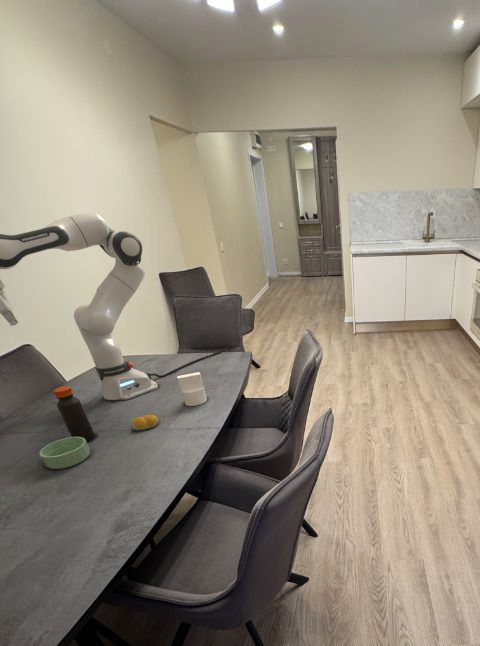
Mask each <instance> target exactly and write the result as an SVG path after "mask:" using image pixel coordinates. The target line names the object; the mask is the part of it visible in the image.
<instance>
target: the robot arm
mask: <svg viewBox="0 0 480 646" xmlns="http://www.w3.org/2000/svg"><path fill="white" fill-rule="evenodd" d="M94 246H99V247H100V248H101V249H102V250H103V251H104V252H105V254H107V255H108V256H109V257H111V258H113V259H115V263H114V266H113V268H112V269H111V270H110V272H109V273H108V274H107V275H106V277H105V278H104V279H103V281H102V282H101V283H100V284H99V285H98V286H97V288H96V292H95V294H94V295H93V297H92V299H91V301H90V303H89V304H82V305H79V306H78V307H76V308H75V310H74V312H73V319H74V322H75V324H76V326H77V328H78V330H79V333H80V335H81V336H82V339H83V341H84V343H85V344H86V346H87V349H88V351H89V353H90V356H91V358H92V361H93V363H94V365H95V367H94V368H95V372H96V374H97V377H98V380H100V382H101V387H102V391H103V394H102V395H103V399H104V400H108V401H117V400H122V401H123V400H124V401H125V400H127V401H128V400H130V399H133V398H135V397H137V396H140V395H144V394H146V393H149V392H151V391H154V390H156V389H158V388H159V384H158V383H157V382H156V381H155V380H152V376H155V377H158V378H165V377H167V376H169V375H171V374H173V373H176V372H177V371H179V370H181V369H182V368H186V367H187V366H189V365H192V364H194V363H196V362H199V361H202V360H204V359H207V358H209V357H212V356H215V355H218V354H222V353H224V352H226V351H227V350H230V349H231V348H230V347H228V346H227V347H225V348H224V349H222V350H220V351H216V352H214V353H211V354H212V355H211V354H208V355H209V356H208V355H205V356H206V357H205V356H202V357H199V358H197V359H194V360H192V361H189V362H188V363H185V364H183V365H180V366H179V367H177V368H175V369H173V370H170V371H168V372H167V373H165V374H162V375H161V374H157V373H150V372H143V371H141V370H138V369H136V368H134V367H135V365H134V363H132V362H130V361H127V360H124V357H123V354H122V352H121V349H120V346H119V343H118V342H117V340H116V338H115V336H114V334H113V331H114V330H115V325H116V323H117V322H118V320H119V318H120V316H121V314H122V312H123V311H124V308H125V306H126V305H127V304H128V302H129V301H130V299H131V298H132V297H133V296H134V294H135V293H136V292H137V290H138V289H139V287H140V285H141V283H142V282H143V280H144V277H145V275H146V273H145V270H144V268H143V266H142V265H141V262H142V255H143V245H142V242H141V240H140V238H138V236H136V235H135V234H133V233H132V232H129V231H126V230H125V231H124V230H122V229H121V230H120V229H112V228H110V227H109V225H108V223H107V221H106V220H105V219H104V218H103V216H101V215H100V214H98V213H91V212H90V213H80V214H73V215H70V216H66V217H62V218H60V219H57V220H54V221H52V222H51V223H49V224H48V225H46V226H44V227H42V228H39V229H35V230H31V231H26V232H22V233H18V234H2V233H0V270H10V269H13V268H15V267H16V266H17V264H19V262H21V261H22V259H23V258H25V257H27V256H29V255H32V254H36V253H40V252H43V251H47V250H62V251H65V252H75V251H80V250H84V249H89V248H91V247H94ZM4 288H6V285H5V283H4V282H3V281H2V279H1V278H0V315H2V317H3V318H4V319H5V320H6V322H8V324H9V325H10V326H11V327H13V326H16V325H18V324H19V321H18V319H17V318H16V316H15V314H14V313H13V312H12V311H13V310H14V308H13V305H12V304H11V302H10V300H9V298H8V296H7V294H6V293H5V291H4Z"/></svg>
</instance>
